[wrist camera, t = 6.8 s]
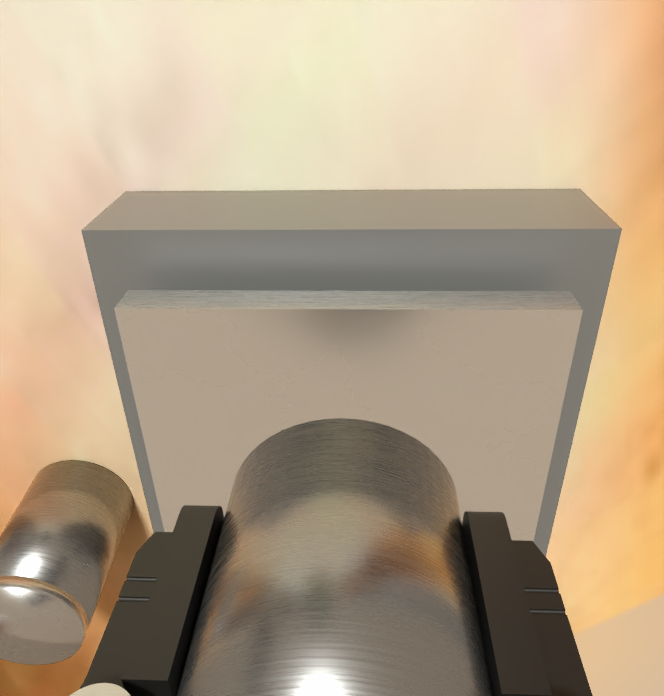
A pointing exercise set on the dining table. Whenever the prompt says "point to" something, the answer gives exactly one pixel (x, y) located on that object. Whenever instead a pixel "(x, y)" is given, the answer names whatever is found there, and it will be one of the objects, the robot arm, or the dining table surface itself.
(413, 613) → the cylinder
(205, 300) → the platform
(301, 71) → the dining table surface
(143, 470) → the scale
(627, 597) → the dining table surface
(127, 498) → the cylinder
